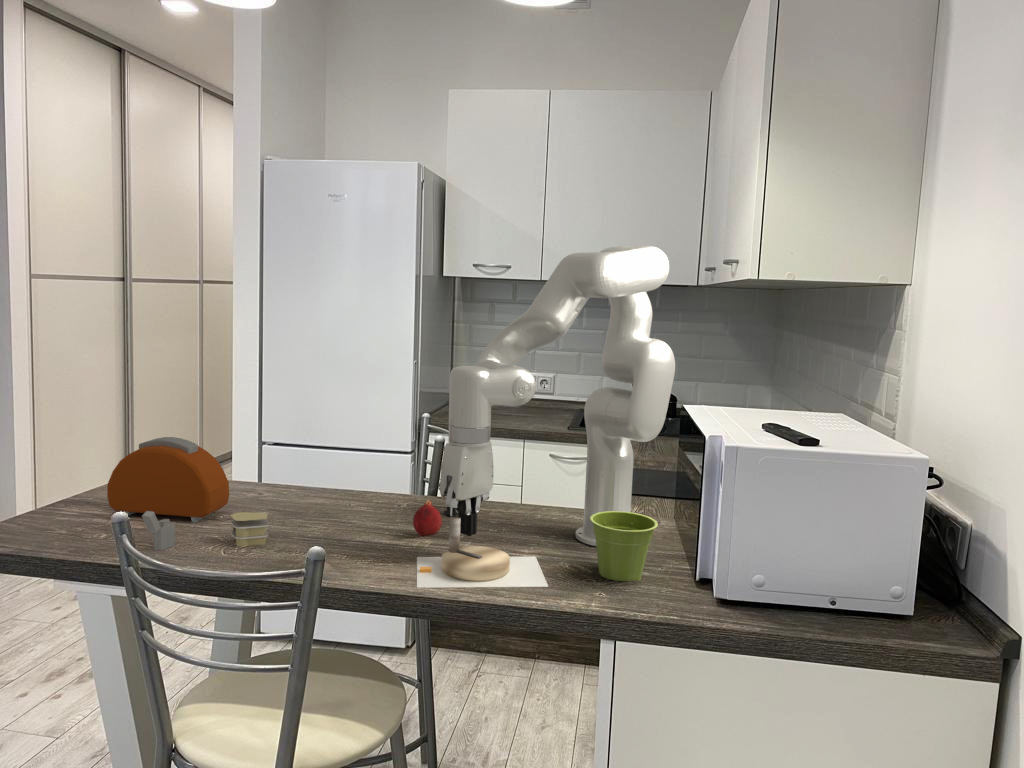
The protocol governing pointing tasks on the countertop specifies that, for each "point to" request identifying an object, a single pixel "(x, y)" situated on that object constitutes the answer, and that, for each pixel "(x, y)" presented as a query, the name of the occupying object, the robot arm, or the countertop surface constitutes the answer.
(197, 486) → the orange toaster
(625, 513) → the plant pot
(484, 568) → the capstan dial
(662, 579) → the countertop surface
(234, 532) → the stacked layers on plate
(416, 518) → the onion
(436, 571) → the stand
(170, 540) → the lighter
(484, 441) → the robot arm
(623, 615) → the countertop surface
